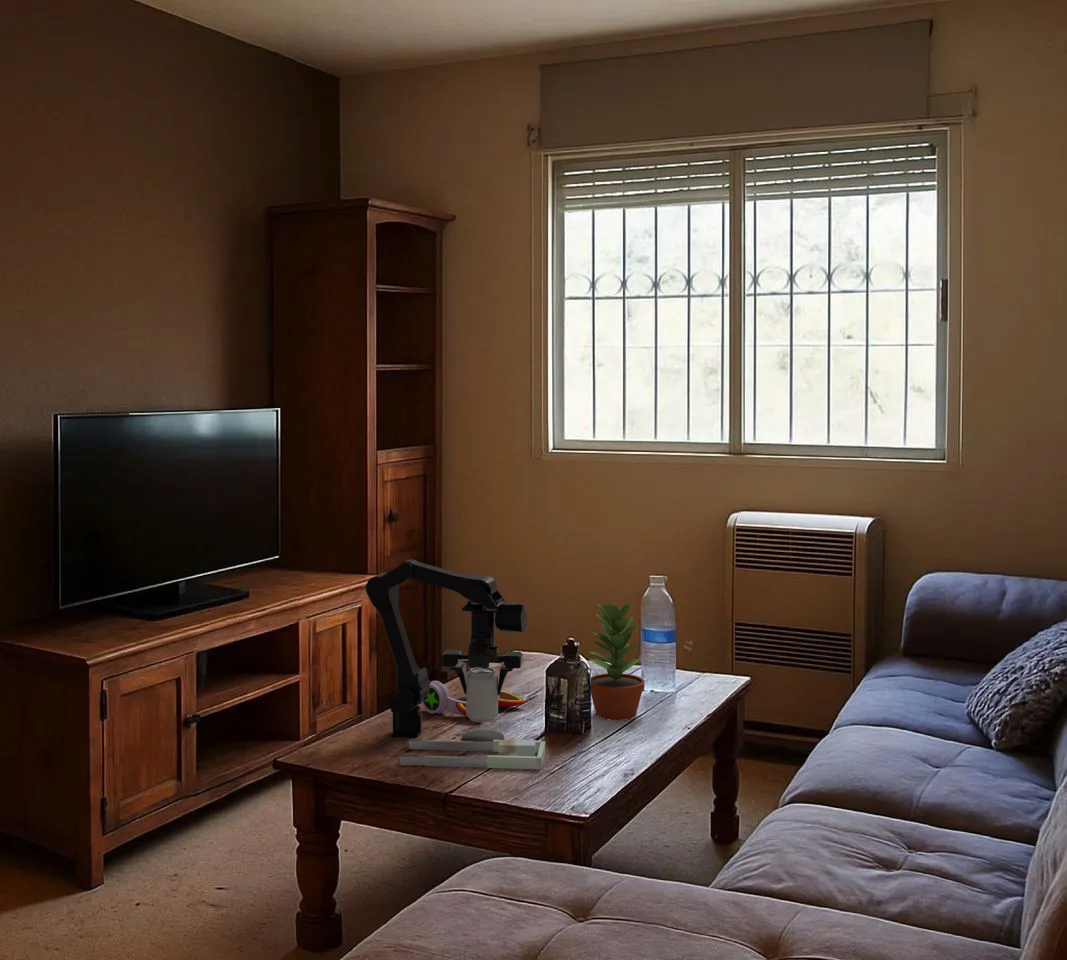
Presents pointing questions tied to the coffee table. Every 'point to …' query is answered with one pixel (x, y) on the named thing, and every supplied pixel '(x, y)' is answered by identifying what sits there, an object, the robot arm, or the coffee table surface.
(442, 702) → the headphones
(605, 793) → the coffee table surface
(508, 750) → the cream block
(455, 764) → the channel
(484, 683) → the can
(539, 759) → the tray
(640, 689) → the potted plant
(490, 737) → the coaster
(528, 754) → the grey-blue block
